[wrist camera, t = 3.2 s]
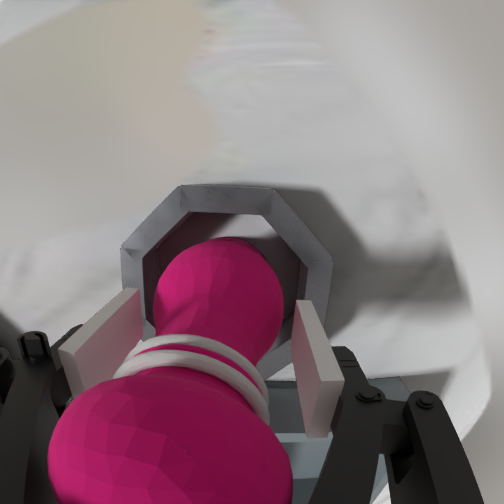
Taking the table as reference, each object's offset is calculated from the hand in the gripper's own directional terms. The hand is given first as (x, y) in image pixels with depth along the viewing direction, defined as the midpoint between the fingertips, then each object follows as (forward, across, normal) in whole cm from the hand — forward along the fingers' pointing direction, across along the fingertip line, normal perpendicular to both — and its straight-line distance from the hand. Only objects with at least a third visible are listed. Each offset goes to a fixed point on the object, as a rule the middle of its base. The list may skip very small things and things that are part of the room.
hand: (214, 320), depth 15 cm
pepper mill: (+6, 0, 0) cm, 6 cm away
